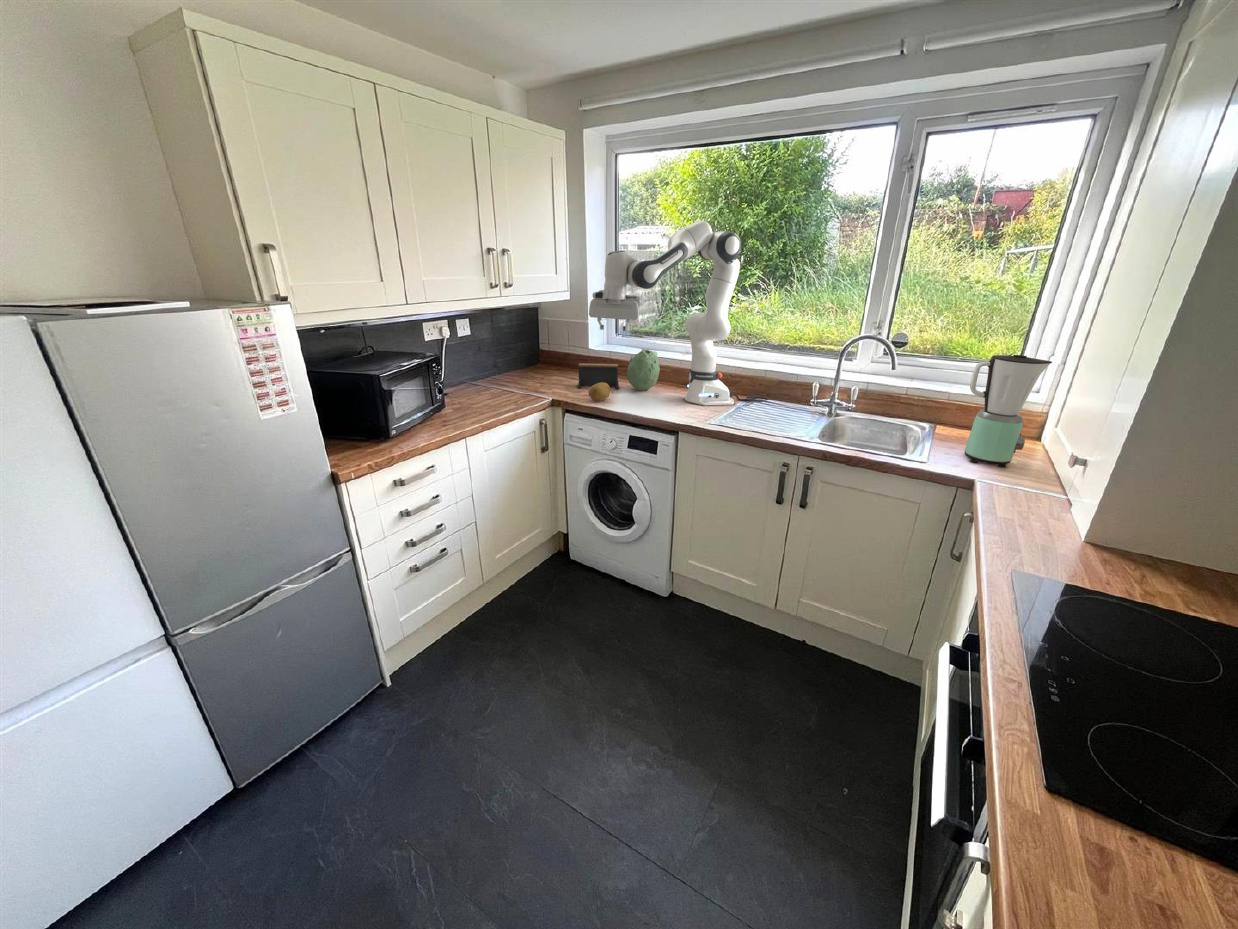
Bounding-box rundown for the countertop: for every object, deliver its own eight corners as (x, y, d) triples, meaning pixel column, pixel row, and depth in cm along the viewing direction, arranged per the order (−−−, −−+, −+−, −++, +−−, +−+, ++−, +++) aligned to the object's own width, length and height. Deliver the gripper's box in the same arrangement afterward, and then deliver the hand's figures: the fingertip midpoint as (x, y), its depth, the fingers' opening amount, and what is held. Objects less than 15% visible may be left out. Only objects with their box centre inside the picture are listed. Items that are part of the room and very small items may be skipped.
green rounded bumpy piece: (620, 391, 244) (621, 350, 237) (635, 384, 260) (637, 345, 253) (649, 395, 238) (652, 353, 231) (663, 388, 254) (666, 348, 247)
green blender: (1011, 459, 170) (1046, 355, 157) (1021, 472, 158) (1060, 361, 145) (946, 449, 177) (975, 349, 164) (951, 461, 166) (983, 355, 153)
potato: (614, 398, 231) (614, 380, 228) (605, 405, 219) (606, 387, 216) (594, 396, 234) (594, 379, 231) (584, 403, 221) (584, 385, 218)
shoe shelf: (617, 385, 257) (617, 364, 253) (618, 389, 248) (619, 367, 244) (578, 384, 255) (578, 363, 251) (578, 388, 247) (578, 366, 243)
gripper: (641, 295, 200) (639, 331, 205) (591, 292, 202) (590, 327, 207) (640, 296, 194) (638, 332, 199) (588, 293, 196) (587, 329, 201)
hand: (613, 330), depth 203 cm, fingers open, 8 cm apart
